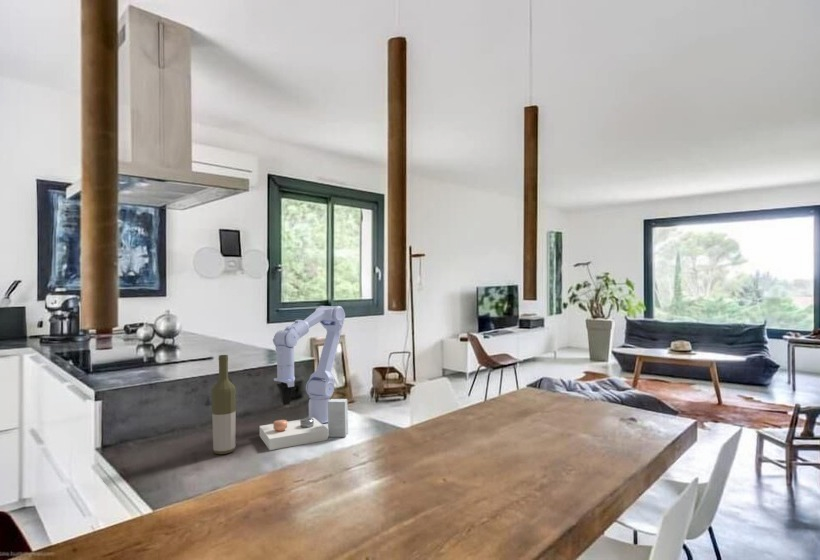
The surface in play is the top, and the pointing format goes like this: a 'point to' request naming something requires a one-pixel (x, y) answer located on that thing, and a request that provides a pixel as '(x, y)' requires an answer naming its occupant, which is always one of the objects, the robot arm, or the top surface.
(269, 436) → the panel
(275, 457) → the top surface
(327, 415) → the robot arm
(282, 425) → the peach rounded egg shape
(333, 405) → the skincare box
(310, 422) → the plug
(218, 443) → the bottle
